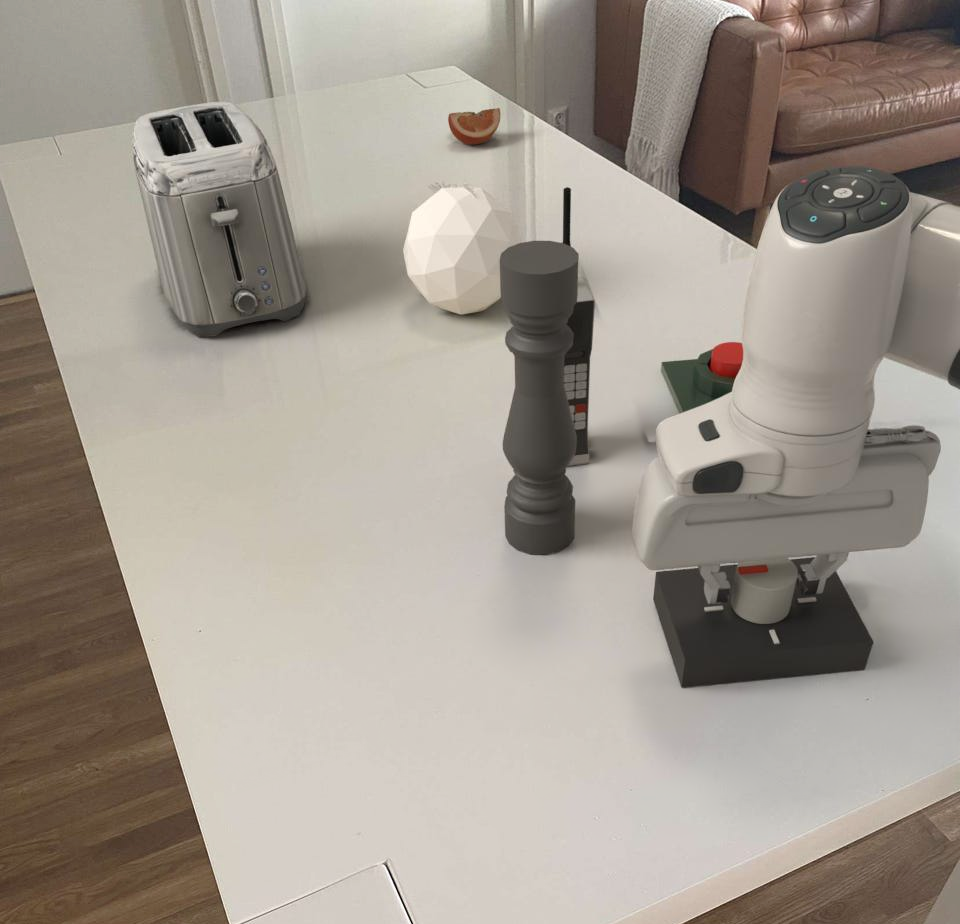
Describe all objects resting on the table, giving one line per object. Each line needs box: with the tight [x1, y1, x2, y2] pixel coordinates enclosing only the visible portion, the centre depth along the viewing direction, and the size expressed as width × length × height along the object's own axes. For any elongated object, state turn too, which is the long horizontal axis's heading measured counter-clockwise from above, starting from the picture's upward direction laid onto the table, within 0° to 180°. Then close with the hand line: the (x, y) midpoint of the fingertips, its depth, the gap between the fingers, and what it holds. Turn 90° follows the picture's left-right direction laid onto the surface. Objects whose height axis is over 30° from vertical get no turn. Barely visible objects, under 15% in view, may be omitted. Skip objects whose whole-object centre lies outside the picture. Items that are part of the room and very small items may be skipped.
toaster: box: [131, 101, 307, 338], centre depth 121 cm, size 17×30×19 cm, turn 19°
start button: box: [710, 341, 743, 378], centre depth 101 cm, size 4×4×2 cm
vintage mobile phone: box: [562, 186, 596, 467], centre depth 89 cm, size 4×5×25 cm
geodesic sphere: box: [402, 180, 523, 316], centre depth 117 cm, size 15×14×14 cm
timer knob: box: [731, 558, 798, 624], centre depth 76 cm, size 4×4×4 cm
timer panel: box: [652, 556, 874, 689], centre depth 78 cm, size 14×10×3 cm
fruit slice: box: [447, 107, 501, 145], centre depth 160 cm, size 8×7×5 cm
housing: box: [660, 348, 735, 414], centre depth 102 cm, size 12×10×4 cm
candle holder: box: [500, 240, 580, 556], centre depth 81 cm, size 6×6×25 cm
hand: (762, 593), depth 76 cm, fingers open, 6 cm apart
